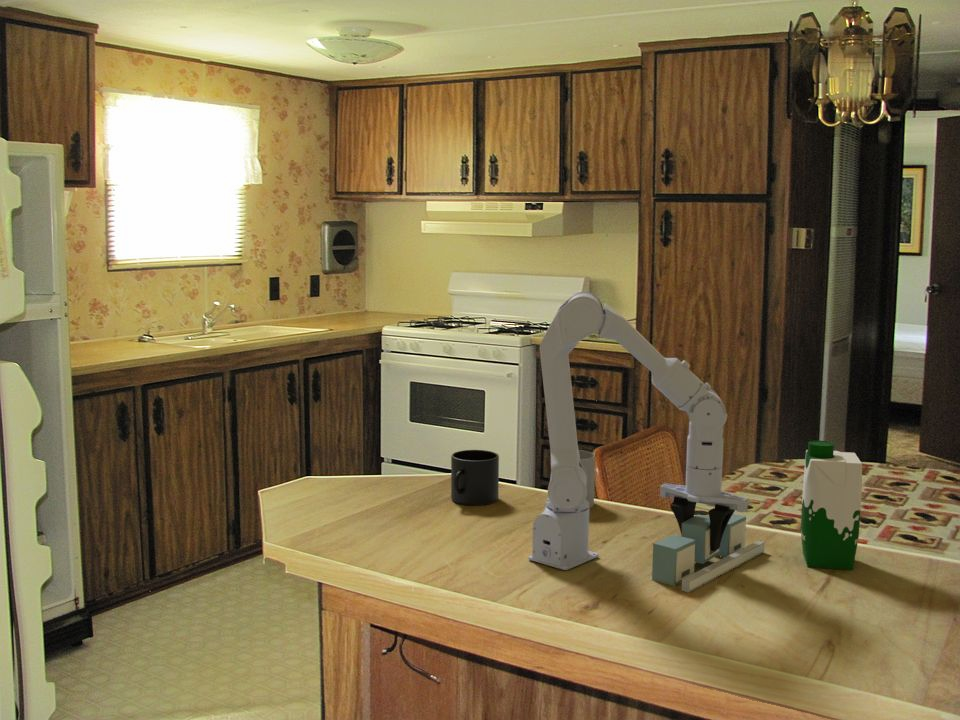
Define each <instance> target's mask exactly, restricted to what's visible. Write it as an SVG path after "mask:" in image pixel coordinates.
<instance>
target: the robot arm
mask: <svg viewBox="0 0 960 720" xmlns="http://www.w3.org/2000/svg"><path fill="white" fill-rule="evenodd" d="M597 331H598V335H597V337H598V338H600V339H606V340H611V341H615V342H617V343H618V344H619V345H620V346H622V348H624V349H625V350H626V351H627V352H628V353H629V354H630V355H632V357H634V358H635V359H636V360H638V362H640V363H641V365H642V366H644V367H645V368H646V369H648V370H649V372H650V373H651V384H652V385H653V386H654V387H655V388H656V389H657V391H659V392H660V393H662V395H663V396H664V397H666V398H667V399H668V401H670V402H671V403H672V404H673V405H674V406H675V407H676V408H677V409H679V411H683V412H686V414H687V417H688V418H689V423H688V435H687V438H686V439H687V440H686V441H687V442H686V463H685V467H686V469H685V485H683V484H681V485H680V484H674V483H673V484H672V483H663V484H662V485H661V484H660V487H659V497H660V498H664V499H665V498H666V499H667V498H671V499H673V501H672V502H671V503H670V510H671V511H672V513H673V515H674V516H675V520H676V522H677V524H678V528H679V531H680V535H682V523H683V522H685V521H687V520H688V519H690V518H692V517H694V516H695V511H696V507H697V506H696V505H697V504H703V505H707V506H713V508H711V509H709V510H708V516H709V518H710V526H711V537H710V550H711V551H716V550H717V549H719V547H720V543H721V539H722V536H723V533H724V530H725V528H726V526H727V524H728V522H729V520H730V518H731V516H732V515H733V514H735V511H736V512H737V513H745V512H746V511H747V510H748V505H749V504H748V503H749V498H748V497H743V496H739V495H735V494H734V493H733V494H732V493H729V492H727V491H722V485H723V483H722V482H723V463H724V462H723V461H724V458H723V457H724V438H723V436H724V435H723V434H724V425H725V424H726V423H727V420H728V413H727V410H726V409H727V408H726V406H725V403H724V402H723V400H722V399H721V397H720V396H719V395H718V394H717V392H716V391H715V390H713V389H712V386H711V384H709V382H705V383H704V382H703V381H702V380H701V379H700V378H699V377H698V376H696V374H694V372H692V371H691V370H690V368H691V365H690V364H689V363H688V362H687V361H686V360H685V359H684V360H682V361H681V360H680V359H679V358H678V357H665V356H663V354H662V353H660V352H659V350H657V349H656V348H655V347H654V346H653V345H652V344H651V343H650V341H648V340H647V338H645V337H644V336H643V335H642V333H640V332H639V331H638V330H637V328H635V327H634V326H633V325H632V324H631V322H629V321H628V320H627V319H626V318H625V317H624V316H623V315H622V314H620V313H619V312H618V311H617V310H615V309H614V308H612V306H610V305H609V304H607V303H605V302H604V305H603V303H602V301H601V299H600V298H599V297H598V296H597V295H595V294H594V293H592V292H588V291H579V292H576V293H574V294H573V295H571V296H570V297H569V298H568V299H566V301H565V302H564V303H562V304H561V305H560V307H559V308H558V310H557V312H556V314H555V316H554V317H553V319H552V321H551V322H550V324H549V326H548V328H547V329H546V332H545V334H544V335H543V337H542V339H541V340H540V343H539V354H540V366H541V373H542V375H541V376H542V383H543V392H544V393H543V394H544V401H545V402H544V403H545V410H546V411H545V412H546V413H545V414H546V422H547V431H548V439H549V441H548V442H549V449H550V476H549V477H550V478H549V483H548V487H547V497H548V498H547V499H546V501H545V507H544V509H543V511H542V512H541V513H540V514H539V515H537V517H536V518H535V519H534V521H533V523H532V524H533V525H532V555H531V554H530V555H529V556H528V557H527V558H528V560H529V561H532V562H537V563H539V564H542V565H546V566H549V567H552V568H556V569H559V570H562V571H568V570H571V569H573V568H575V567H577V566H580V565H582V564H585V563H587V562H589V561H592V560H594V559H596V558H598V557H599V556H600V554H599V552H595V551H591V550H589V542H590V541H589V539H590V538H589V537H590V508H589V502H588V501H587V500H586V496H587V489H586V485H587V481H588V476H587V472H586V470H585V468H584V467H583V466H582V464H581V461H580V455H579V450H580V449H579V445H578V444H579V443H578V434H577V433H578V432H577V424H576V414H575V407H574V405H575V404H574V395H573V387H572V386H573V385H572V376H571V375H572V374H571V367H570V357H569V356H570V355H569V354H570V353H571V352H572V351H573V350H574V349H575V348H576V347H577V346H578V344H579V343H580V342H581V341H583V340H584V339H586V338H588V337H590V336H591V335H593V334H594V333H596V332H597Z"/></svg>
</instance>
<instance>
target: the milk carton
mask: <svg viewBox="0 0 960 720" xmlns="http://www.w3.org/2000/svg"><path fill="white" fill-rule="evenodd" d="M834 449H835V445H834V443H833V442H831V441H826V440H809V441H808V443H807V449H806V450H805V460H804V469H803V471H804V472H803V484H802V496H801V498H802V499H801V515H800V516H801V517H800V518H801V519H800V535H801V537H800V538H801V545H802V547H801V548H802V554H803V557H804V560H805V564H806V566H807V568H819V569H820V568H821V569H822V568H823V569H832V570H834V569H835V570H849V571H853V569H854V566H855V565H854V564H855V559H856V555H857V550H858V543H859V537H860V525H861V509H862V494H863V493H862V490H863V463H862V461H861V460H860V458H859V457H858V456H857V454H856V452H848V451H847V452H846V451H840V450H839V451H838V450H834Z"/></svg>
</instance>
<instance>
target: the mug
mask: <svg viewBox="0 0 960 720" xmlns="http://www.w3.org/2000/svg"><path fill="white" fill-rule="evenodd" d="M450 457H451V459H450V465H451V466H450V467H451V469H450V472H451V474H450V475H451V476H450V477H451V479H450V482H451V484H450V498H451V500H452V502H454V503H457V504H459V505H462V506H463V505H465V506H472V507H473V506H475V507H476V506H486V505H490V504H494V503H496V502H497V501H498V500H499V483H500V482H499V480H500V479H499V475H500V474H499V471H500V467H499V466H500V456H499V454H498V453H496V452H494V451H489V450H486V449H485V450H484V449H467V450H466V449H465V450H459V451H456V452H454V453H452V454H451V455H450Z"/></svg>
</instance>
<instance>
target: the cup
mask: <svg viewBox="0 0 960 720" xmlns="http://www.w3.org/2000/svg"><path fill="white" fill-rule="evenodd" d="M579 455H580V461H581V464H582V466H583V467H584V468H585V470H586V472H587V476H588V481H587V485H586V489H587V496H586V500H587V501H588V502H589V509H591V508H593V507H595V506H594V505H595V474H596V473H595V472H596V469H595V468H596V466H595V465H596V454H595V453H593V452H592V451H588V450H583V449H579Z"/></svg>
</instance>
